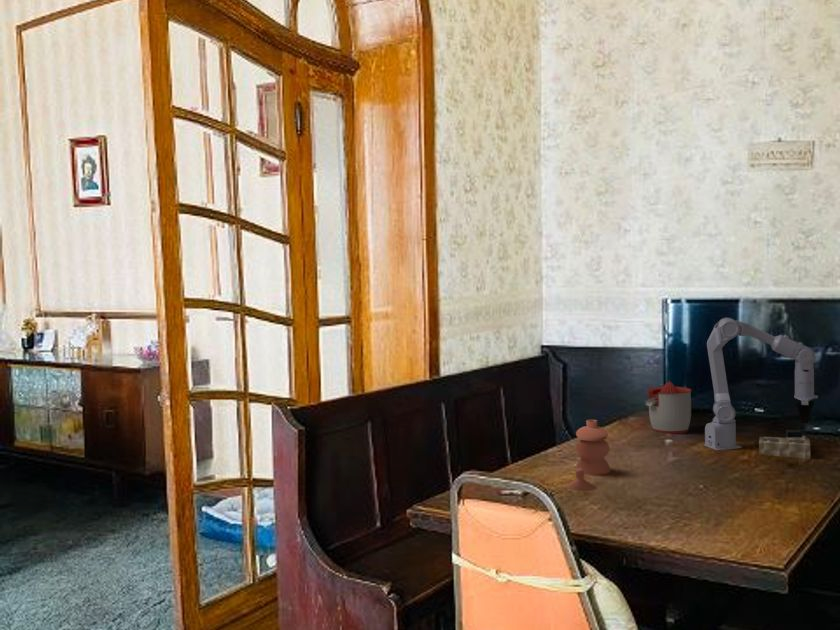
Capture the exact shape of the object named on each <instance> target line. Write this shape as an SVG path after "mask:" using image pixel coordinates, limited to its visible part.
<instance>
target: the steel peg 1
mask: <svg viewBox="0 0 840 630" xmlns="http://www.w3.org/2000/svg"><path fill="white" fill-rule="evenodd" d="M765 441H771V442H778V440H777V439H765Z"/></svg>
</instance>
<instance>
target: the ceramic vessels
mask: <svg viewBox="0 0 840 630" xmlns="http://www.w3.org/2000/svg"><path fill="white" fill-rule="evenodd" d="M585 422H586V423H585V424H586V426H582V427H580V428H578V429H577V430H576V433H575V436H576V437H577V439H579V440H577V442H576V443H575V446H574V447H575V452H576V453H577V455H578V456H579V457H580V458H579V460H578V462H577V463H576V465H575V475H576V477H575V478H576V479H575V480H572V481H570V482H569V483H568V484H566V486H565V487H566V488H567V489H569V490H572V491H577V492H579V491H580V492H589V491H590V492H591V491H594V490H596V489H597V486H596V485H594V484H593V483H591V482H590V481H588V480H586V479H585V475H591V476H592V475H593V476H601V475H607V474H609V473H610V472H611V468H610V464H609V463H608V461H607V460H606V458H605V457H606V456H608V455H609V452H610V445H609V443H608V442H607V440H606V439H607V438H608V435H609V434H608V431H607V430H606V429H605V428H604V427H602V426H598V420H597V419H587V420H586V421H585Z"/></svg>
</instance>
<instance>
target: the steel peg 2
mask: <svg viewBox="0 0 840 630" xmlns="http://www.w3.org/2000/svg"><path fill="white" fill-rule="evenodd" d="M790 443H804V441H800V440H791V441H790Z"/></svg>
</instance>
